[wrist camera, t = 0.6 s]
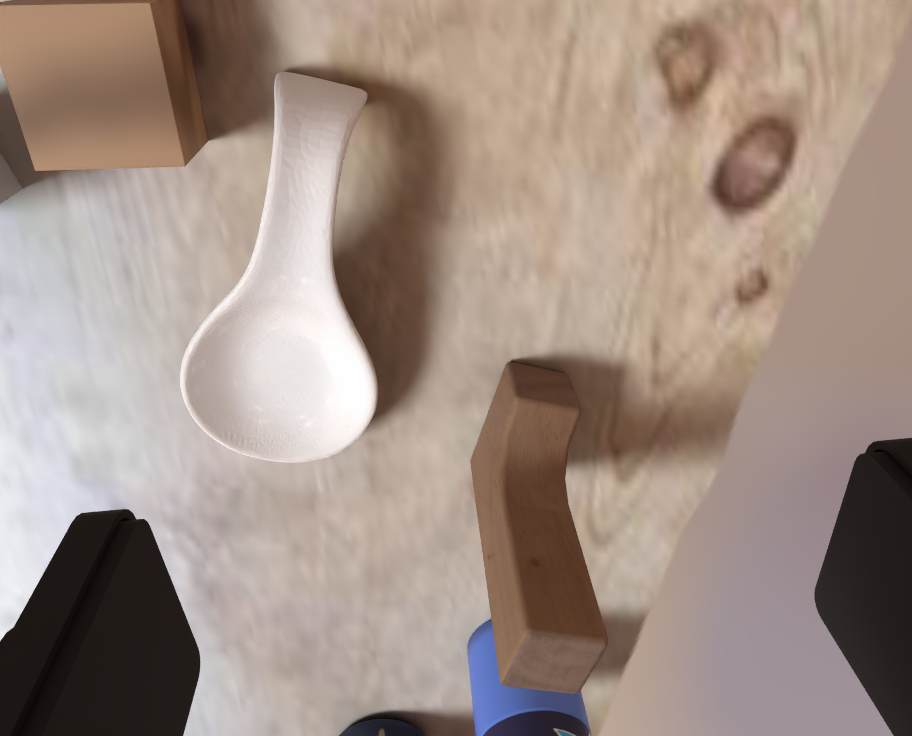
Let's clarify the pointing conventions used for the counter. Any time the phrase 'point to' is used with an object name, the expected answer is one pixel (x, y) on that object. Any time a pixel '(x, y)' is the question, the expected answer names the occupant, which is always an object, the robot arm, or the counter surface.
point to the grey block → (7, 181)
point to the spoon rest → (289, 303)
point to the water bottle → (517, 699)
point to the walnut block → (102, 83)
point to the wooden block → (534, 535)
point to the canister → (382, 728)
